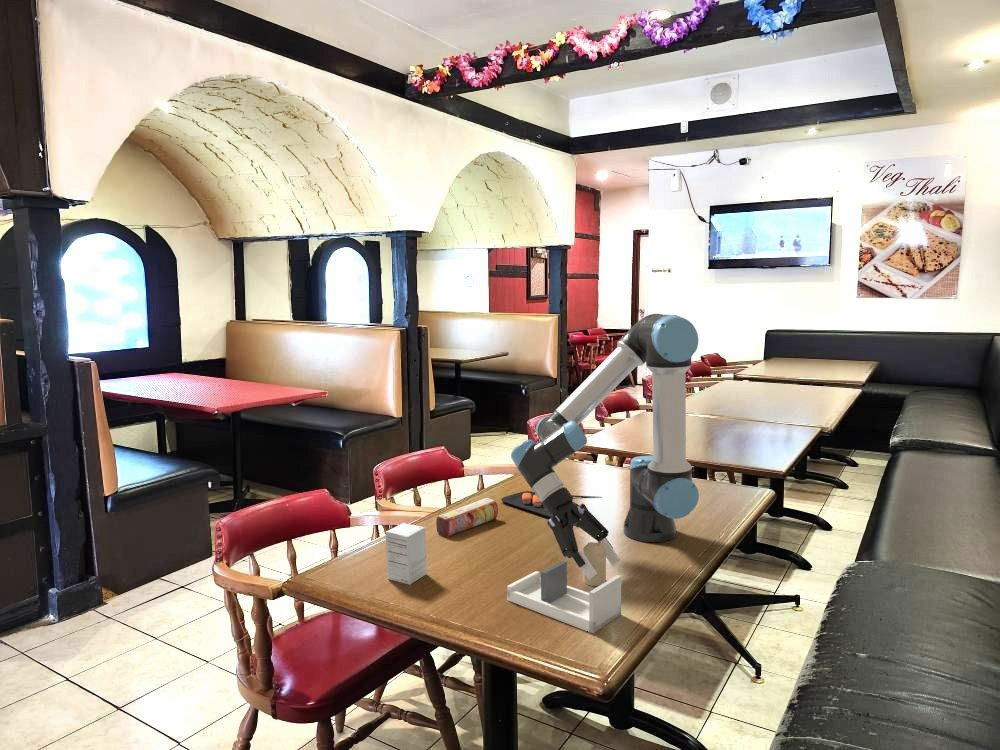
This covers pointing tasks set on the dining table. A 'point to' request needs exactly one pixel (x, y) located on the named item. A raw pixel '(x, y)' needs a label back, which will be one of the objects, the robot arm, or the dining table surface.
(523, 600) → the pusher lane
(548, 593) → the plate
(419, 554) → the supplement box
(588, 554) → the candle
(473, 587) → the dining table surface
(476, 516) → the snack package
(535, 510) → the sushi plate
